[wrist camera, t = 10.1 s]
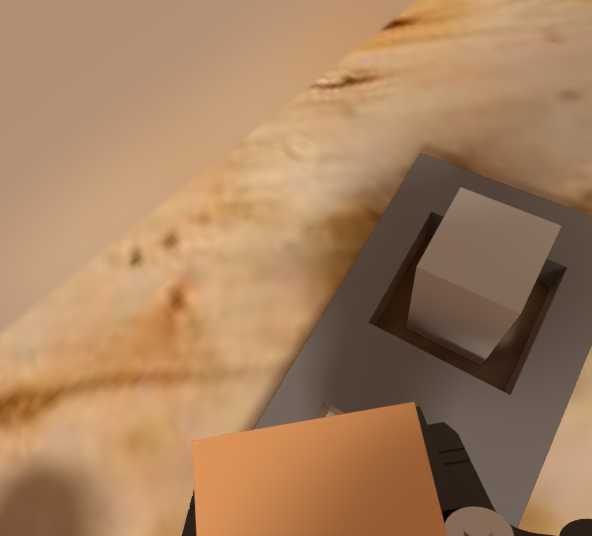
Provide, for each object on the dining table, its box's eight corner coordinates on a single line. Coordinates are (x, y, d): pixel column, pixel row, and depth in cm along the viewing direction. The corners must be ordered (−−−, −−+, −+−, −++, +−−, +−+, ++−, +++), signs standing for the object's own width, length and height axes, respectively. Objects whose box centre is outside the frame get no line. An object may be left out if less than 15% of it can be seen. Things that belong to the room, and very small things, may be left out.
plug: (423, 585, 16) (486, 692, 7) (300, 603, 16) (206, 730, 7) (394, 453, 18) (413, 402, 9) (283, 471, 18) (191, 440, 9)
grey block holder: (416, 179, 29) (428, 83, 23) (614, 256, 26) (698, 169, 19) (178, 582, 22) (93, 616, 16) (402, 766, 19) (417, 915, 12)
